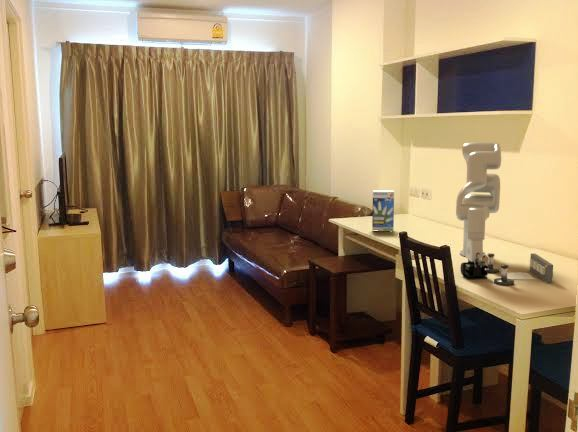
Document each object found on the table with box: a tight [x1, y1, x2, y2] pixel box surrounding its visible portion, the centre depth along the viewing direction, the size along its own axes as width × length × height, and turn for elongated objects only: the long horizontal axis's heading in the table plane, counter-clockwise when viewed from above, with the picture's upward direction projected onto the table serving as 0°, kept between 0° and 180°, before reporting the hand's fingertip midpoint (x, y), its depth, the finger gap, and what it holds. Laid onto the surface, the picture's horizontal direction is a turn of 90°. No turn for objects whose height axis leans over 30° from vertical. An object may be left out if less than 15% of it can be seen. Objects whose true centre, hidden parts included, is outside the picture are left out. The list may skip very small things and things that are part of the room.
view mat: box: [499, 272, 537, 281], centre depth 244 cm, size 10×12×1 cm
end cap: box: [459, 260, 489, 281], centre depth 245 cm, size 10×7×7 cm
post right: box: [493, 263, 515, 287], centre depth 235 cm, size 8×8×8 cm
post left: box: [485, 252, 501, 274], centre depth 253 cm, size 8×8×8 cm
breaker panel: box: [529, 253, 554, 284], centre depth 243 cm, size 20×3×8 cm, turn 177°
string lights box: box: [371, 189, 395, 232], centre depth 346 cm, size 13×8×26 cm, turn 76°
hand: (474, 272), depth 245 cm, fingers open, 9 cm apart
